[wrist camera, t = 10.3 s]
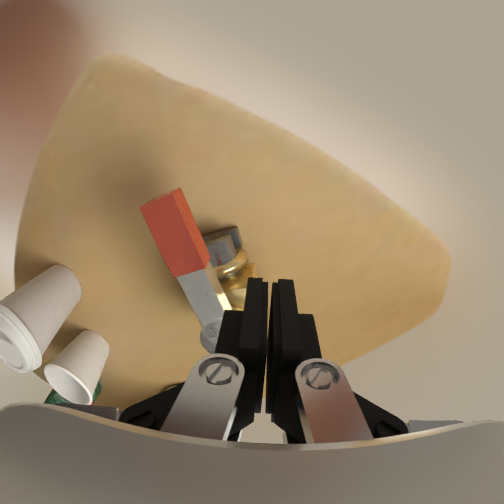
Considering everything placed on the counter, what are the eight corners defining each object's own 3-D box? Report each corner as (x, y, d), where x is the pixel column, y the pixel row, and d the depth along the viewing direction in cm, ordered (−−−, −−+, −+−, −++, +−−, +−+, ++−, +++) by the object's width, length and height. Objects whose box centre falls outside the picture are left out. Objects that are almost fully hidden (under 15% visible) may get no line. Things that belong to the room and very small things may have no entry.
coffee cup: (96, 276, 35) (31, 348, 21) (85, 322, 38) (35, 390, 25) (45, 242, 33) (-27, 296, 20) (39, 290, 37) (-17, 346, 23)
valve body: (275, 321, 36) (275, 369, 28) (229, 330, 37) (220, 377, 29) (246, 223, 31) (238, 257, 23) (193, 237, 32) (170, 272, 24)
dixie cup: (126, 360, 41) (102, 407, 32) (92, 364, 43) (68, 405, 33) (97, 318, 38) (64, 363, 29) (65, 327, 40) (34, 366, 30)
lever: (190, 183, 21) (182, 189, 19) (258, 339, 27) (257, 353, 25) (141, 204, 22) (131, 211, 20) (215, 348, 27) (212, 362, 26)
